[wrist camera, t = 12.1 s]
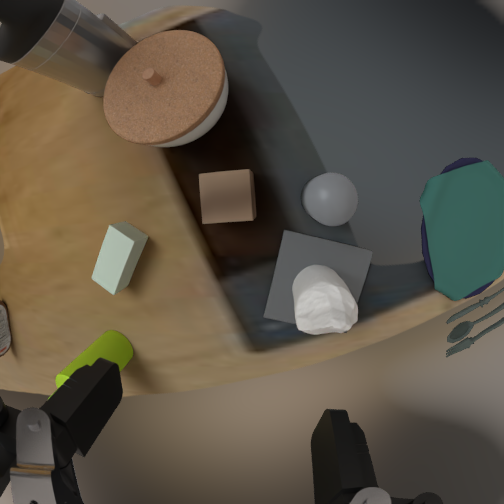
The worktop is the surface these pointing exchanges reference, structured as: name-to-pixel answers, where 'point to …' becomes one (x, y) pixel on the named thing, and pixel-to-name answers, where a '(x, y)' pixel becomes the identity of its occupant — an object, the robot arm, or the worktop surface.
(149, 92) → the lidded bowl
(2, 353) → the tin
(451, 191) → the teal place setting
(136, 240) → the sage bar
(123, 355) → the soap dispenser
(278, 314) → the mat
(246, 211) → the walnut cube
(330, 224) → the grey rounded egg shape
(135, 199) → the worktop surface
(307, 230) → the worktop surface
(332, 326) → the white tall lump
